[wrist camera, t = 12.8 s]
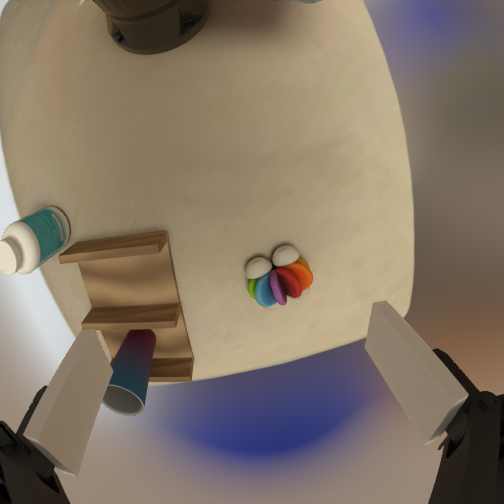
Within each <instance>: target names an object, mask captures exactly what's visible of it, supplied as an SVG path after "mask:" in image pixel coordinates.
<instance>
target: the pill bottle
mask: <svg viewBox="0 0 504 504" xmlns="http://www.w3.org/2000/svg"><path fill="white" fill-rule="evenodd" d="M69 235H70V229H69V224H68V221H67V219H66V217H65V215H64V214H63V213H62V212H61V211H60V210H59V209H57V208H55V207H47V208H44V209H42V210H39V211H37V212H35V213H33V214H31V215H28V216H26V217H24V218H22V219H20V220H18V221H16V222H14V223H12V224H10V225H9V226H8V227H7V228H6V229H5V231H4V233H3V237H2V240H1V241H0V269H1V270H2V271H3V272H4V273H5V274H8V275H12V274H14V273H15V272H17V273H20V274H29V273H31V272H32V271H34V270H35V269H36V268H38V267H39V266H40V265H41V264H43V263H44V262H45V261H46V260H48V259H49V258H50V257H52V256H53V255H54V254H56V253H57V252H59V251H60V250H61V249H62V248H64V247H65V245H66V244H67V242H68V239H69Z"/></svg>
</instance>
